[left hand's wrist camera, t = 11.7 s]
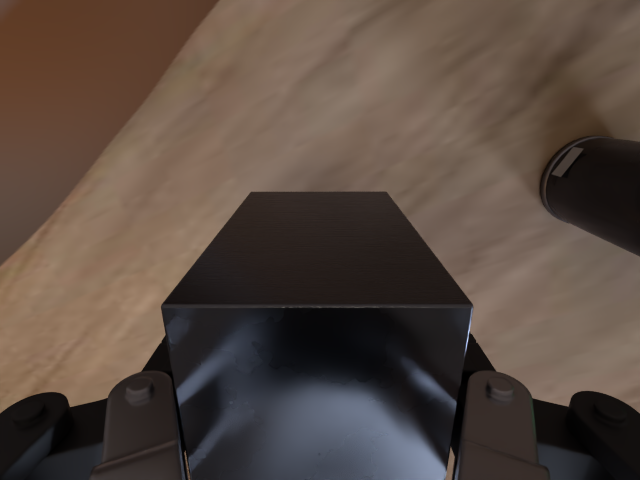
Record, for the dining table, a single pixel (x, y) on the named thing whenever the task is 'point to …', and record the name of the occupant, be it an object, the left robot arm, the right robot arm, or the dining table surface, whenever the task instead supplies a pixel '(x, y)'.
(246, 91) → the dining table surface
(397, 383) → the box
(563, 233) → the dining table surface
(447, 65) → the dining table surface
